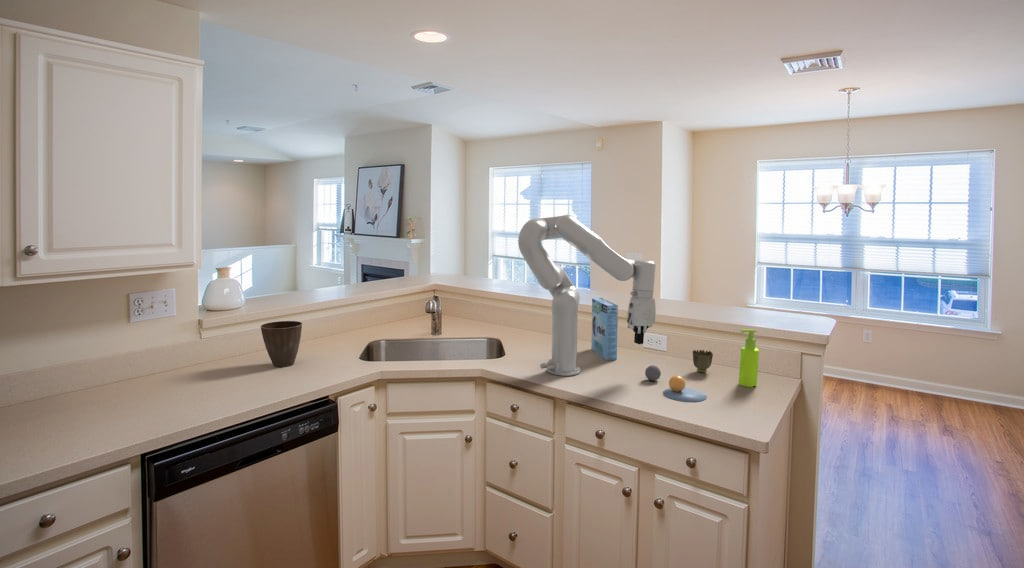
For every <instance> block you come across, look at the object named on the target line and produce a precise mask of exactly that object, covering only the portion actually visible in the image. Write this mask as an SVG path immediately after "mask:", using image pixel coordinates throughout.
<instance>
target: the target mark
mask: <svg viewBox="0 0 1024 568" xmlns="http://www.w3.org/2000/svg"><path fill="white" fill-rule="evenodd" d="M662 392H663V393H664V394H663V395H664V397H666V396H667V397H666V398H669V399H671V400H674V401H677V402H686V403H698V402H704V401H705V400H706V399H707V398H708V396H707V394H706V393H704V392H703V391H700V390H697V389H694V388H689V387H685V388H684V389H683V390H682V391H680V392H675V391H673V390H672V389H671V388H670V387H669V388H666V389H664V390H663V391H662Z"/></svg>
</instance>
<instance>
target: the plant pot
mask: <svg viewBox="0 0 1024 568" xmlns="http://www.w3.org/2000/svg"><path fill="white" fill-rule="evenodd" d="M302 326H303V322H301V321H298V320H297V321H296V320H281V321H280V320H279V321H272V322H267V323H264V324H261V325H260V329H261V330H260V331H261V335H262V340H263V343H264V347H265V349H266V351H267V354H268V356H269V360H270V361H271V363H272V365H273V367H276V368H284V367H290V366H293V365H294V364H295V361H296V359H297V354H298V352H299V347H300V343H301V337H302Z"/></svg>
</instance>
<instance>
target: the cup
mask: <svg viewBox="0 0 1024 568" xmlns="http://www.w3.org/2000/svg"><path fill="white" fill-rule="evenodd" d="M713 355H714V353H713V352H712V351H711V350H709V351H708V350H704V349H700V350H698V349H696V350H695V349H693V350H692V363H693V365H694V367H695V368H696V372H698V373H699V374H706V373H707V371H708V369H709V368H710V367H711V365H712V361H713V357H714V356H713Z"/></svg>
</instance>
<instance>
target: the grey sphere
mask: <svg viewBox="0 0 1024 568" xmlns="http://www.w3.org/2000/svg"><path fill="white" fill-rule="evenodd" d="M644 373H645V374H644V375H645V378H646V379H648V380H649V381H650V382H651V381H652V382H654V381H657V380H658V379H660V377H661V375H662V374H661V373H662V372H661V369H660V368H659V367H658V366H657V365H653V364H652V365H649V366H647V367H646V369H645V371H644Z"/></svg>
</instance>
